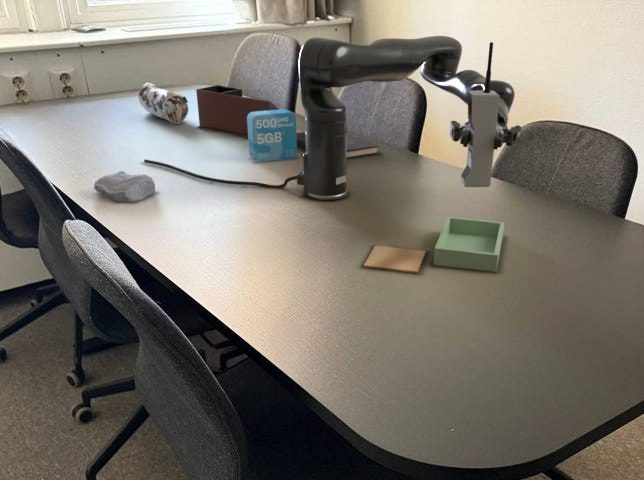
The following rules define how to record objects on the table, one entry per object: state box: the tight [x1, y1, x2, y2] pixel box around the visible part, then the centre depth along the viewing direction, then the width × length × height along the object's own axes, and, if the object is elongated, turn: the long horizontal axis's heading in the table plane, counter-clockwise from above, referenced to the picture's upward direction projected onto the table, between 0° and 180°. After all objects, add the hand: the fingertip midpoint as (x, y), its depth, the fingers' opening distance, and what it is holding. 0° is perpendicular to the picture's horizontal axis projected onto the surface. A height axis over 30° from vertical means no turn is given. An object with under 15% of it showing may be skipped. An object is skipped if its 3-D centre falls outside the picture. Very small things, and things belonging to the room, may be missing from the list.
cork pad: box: [363, 244, 427, 274], centre depth 132 cm, size 10×10×1 cm
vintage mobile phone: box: [460, 41, 499, 188], centre depth 128 cm, size 4×5×25 cm
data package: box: [247, 108, 298, 163], centre depth 186 cm, size 12×4×12 cm, turn 118°
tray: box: [432, 216, 505, 273], centre depth 136 cm, size 12×18×3 cm, turn 167°
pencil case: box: [138, 82, 189, 125], centre depth 224 cm, size 22×8×10 cm, turn 38°
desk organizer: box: [195, 84, 280, 138], centre depth 210 cm, size 10×29×11 cm, turn 58°
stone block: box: [93, 171, 156, 203], centre depth 160 cm, size 12×5×10 cm
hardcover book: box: [296, 131, 380, 160], centre depth 199 cm, size 16×23×2 cm
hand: (480, 142), depth 128 cm, fingers closed on vintage mobile phone, 5 cm apart
